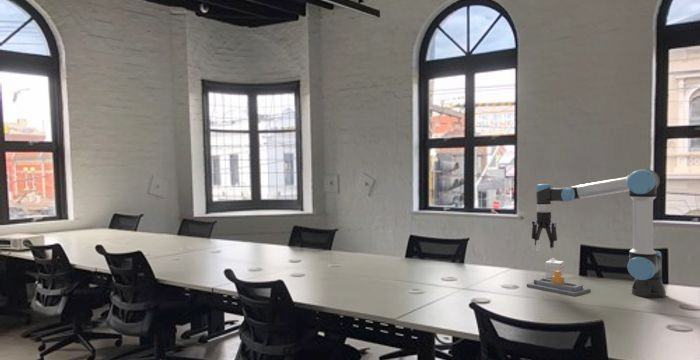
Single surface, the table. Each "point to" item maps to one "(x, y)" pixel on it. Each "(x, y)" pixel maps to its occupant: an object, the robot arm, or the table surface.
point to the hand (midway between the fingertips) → (544, 252)
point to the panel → (559, 287)
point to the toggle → (558, 278)
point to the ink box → (553, 268)
